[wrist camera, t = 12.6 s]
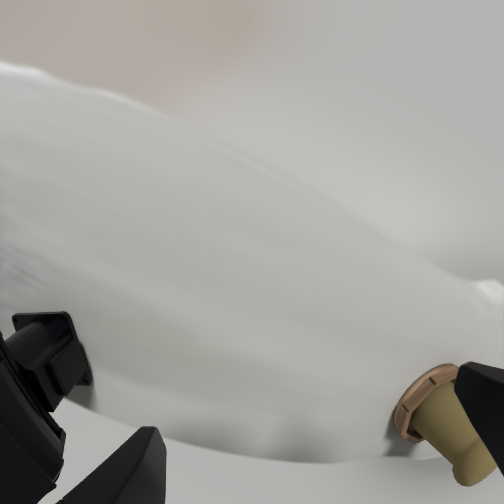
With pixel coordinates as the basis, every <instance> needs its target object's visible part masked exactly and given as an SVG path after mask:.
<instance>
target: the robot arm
mask: <svg viewBox="0 0 504 504" xmlns="http://www.w3.org/2000/svg"><path fill="white" fill-rule="evenodd" d="M63 317H64V318H65V319H66V320H64V319H63ZM17 320H18V321H17ZM12 322H13V325H14V327H15V330H16V332H15V333H14V334H13V335H12V336H10V337H9V338H8V339H7V340H5V341H4V340H3V338H2V336H3V335H2V333H1V331H0V504H37V503H38V502H39V501H40V500H41V499H42V498H43V497H44V496H45V495H46V494H47V493H49V492H50V491H52V490H53V489H55V488H56V484H55V482H56V481H57V479H58V477H59V475H60V471H61V469H62V467H63V463H64V459H63V451H64V444H65V438H66V433H65V431H64V430H63V429H62V428H60V427H59V426H58V424H57V423H56V422H55V420H54V419H53V418H52V416H51V415H50V414H49V412H54V411H55V409H56V407H57V406H58V405H59V403H60V402H61V400H62V399H63V397H64V396H68V394H69V393H70V392H71V390H72V389H73V387H74V386H75V385H84V386H89V385H90V384H91V383H92V377H91V374H90V372H89V369H88V366H87V363H86V360H85V358H84V355H83V352H82V349H81V347H80V344H79V341H78V339H77V336H76V333H75V330H74V327H73V324H72V321H71V318H70V315H69V314H68V313H67V312H64V311H61V312H41V313H17V314H15V315H13V316H12ZM86 379H87V380H88V381H87V380H86ZM454 392H455V394H456V396H457V398H458V400H459V401H460V403H461V405H462V407H463V409H464V411H465V413H466V415H467V417H468V419H469V421H470V422H471V424H472V426H473V428H474V429H475V431H476V432H477V434H478V435H479V437H480V439H481V440H482V442H483V443H484V445H485V446H486V448H487V450H488V451H489V453H490V454H491V456H492V458H493V459H494V461H495V463H496V464H497V466H498V468H499V469H500V471H501V473H502V474H503V476H504V369H500V368H496V367H491V366H487V365H483V364H479V363H475V362H471V361H470V362H467V363H465V364H462V365H461V366H460V367H459V369H458V372H457V376H456V379H455V383H454ZM165 495H166V446H165V444H164V442H163V439H162V437H161V435H160V432H159V430H158V429H157V428H156V427H154V426H143V427H141V428H139V429H138V430H137V431H136V432H135V433H134V434H133V435H132V436H131V437H130V438H129V439H128V440H127V441H126V442H125V443H124V444H122V445H121V446H120V447H119V448H118V449H117V450H116V451H115V452H114V453H113V454H112V455H111V456H109V458H107V459H106V460H105V461H104V462H103V463H102V464H101V465H100V466H98V467H97V468H96V469H95V470H94V471H93V472H92V473H91V474H89V475H88V476H87V477H86V478H85V479H84V480H83V481H82V482H80V483H79V484H78V485H77V486H76V487H75V488H74V489H72V490H71V491H70V492H69V493H68V494H67V495H65V496H64V497H63V500H59V501H58V502H57V503H56V504H165Z"/></svg>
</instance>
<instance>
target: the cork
mask: <svg viewBox="0 0 504 504" xmlns="http://www.w3.org/2000/svg"><path fill="white" fill-rule="evenodd" d="M409 424H410V425H411V426H412V427H413V428H414V429H415V430H416V431H417V432H418V433H419V434H420V435H422V436H423V437H424V438H425V439H426V440H427V441H428V442H429V443H430V444H431V445H432V446H433V447H434V448H435V449H436V450H437V451H439V452H440V453H441V454H442V455H443V456H444V457H445V458H446V459H447V460H448V461H449V462H450V463H452V464H453V469H452V471H453V474H454V478H455V479H456V481H457V482H458V483H459V484H461V485H463V486H468V487H469V486H473V485H475V484H477V483H479V482H480V481H482V480H483V479H484V478H486V477H487V476H488V475H489V474H490V473H492V472H493V470H494V469H495V468H496V467H497V464H496V463H495V461H494V459H493V458H492V456H491V454H490V453H489V451H488V450H487V448H486V446H485V445H484V443H483V442H482V440H481V439H480V437H479V435H478V434H477V432H476V431H475V429H474V428H473V426H472V424H471V422H470V421H469V419H468V417H467V415H466V413H465V411H464V409H463V407H462V405H461V403H460V401H459V400H458V398H457V396H456V394H455V392H454V383H453V382H452V381H449V382H447V383H444V384H442V385H440V386H437V387H435V388H434V389H433V391H432V392H431V393H430V394H429V395H428V396H427V397H426V398H425V399H424V400H423V401H422V402H421V403H420V404H419V405H418V407H417V408H416V409H415V410H414V411H413V412H412V414H411V418H410V421H409Z"/></svg>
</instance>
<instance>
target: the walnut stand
mask: <svg viewBox="0 0 504 504" xmlns="http://www.w3.org/2000/svg"><path fill="white" fill-rule="evenodd" d="M458 369H459V368H458V367H457V366H456V365H454V364H442V365H439V366H437V367H435V368H433V369H431V370H429V371H428V372H426V373H425V374H423V375H422V376H421V377H419V378H418V379H417V380H416V381H415V382H414V383H413V384H412V385H411V386H410V387H409V388H408V389H407V391H406V392H405V393H404V394H403V396H402V397H401V399H400V401H399V402H398V404H397V406H396V409H395V412H394V424H395V426H396V431H397V432H398V434H399V435H400V437H401V438H404V439H406V440H408V441H411V442H413V443H416V442H417V443H419V442H421V441H423V440H425V438H424V437H423V436H422V435H420V434H419V433H418V432H417V431H416V430H415V429H414V428H413V427H412V426H411V425H410V424H409V421H410V418H411V414H412V412H413V411H414V410H415V409H416V408H417V407H418V405H419V404H420V403H421V402H422V401H423V400H424V399H425V398H426V397H427V396H428V395H429V394H430V393H431V392H432V391H433V389H434V388H435V387H437V386H440V385H442V384H444V383H447V382H449V381H452V382H453V383H455V379H456V376H457V372H458Z"/></svg>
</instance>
